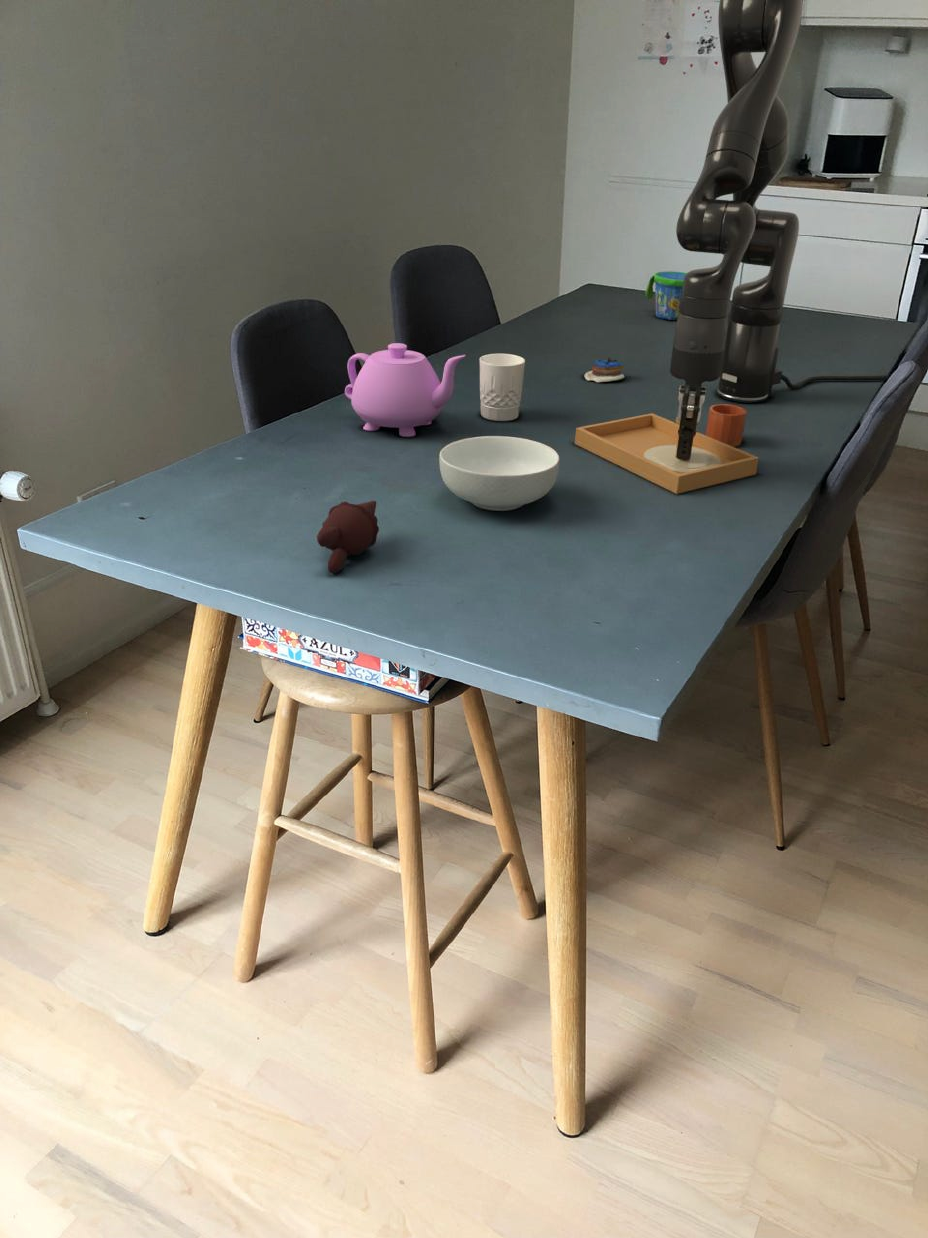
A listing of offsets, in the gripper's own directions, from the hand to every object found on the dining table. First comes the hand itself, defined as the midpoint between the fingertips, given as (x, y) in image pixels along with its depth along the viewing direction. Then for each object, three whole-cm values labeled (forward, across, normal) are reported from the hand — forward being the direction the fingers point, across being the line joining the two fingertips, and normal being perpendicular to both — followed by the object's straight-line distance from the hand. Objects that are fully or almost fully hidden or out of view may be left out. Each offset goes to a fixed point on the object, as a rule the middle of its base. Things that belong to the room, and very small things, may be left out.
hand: (683, 454), depth 157 cm
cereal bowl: (+2, -21, +25) cm, 33 cm away
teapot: (+2, +6, +47) cm, 48 cm away
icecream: (+2, -43, +40) cm, 59 cm away
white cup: (+2, +17, +32) cm, 37 cm away
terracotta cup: (+2, +15, -6) cm, 16 cm away
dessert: (+2, +47, +17) cm, 50 cm away
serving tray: (+2, +3, +3) cm, 5 cm away
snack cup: (+2, +105, +6) cm, 106 cm away
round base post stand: (+1, 0, 0) cm, 1 cm away
